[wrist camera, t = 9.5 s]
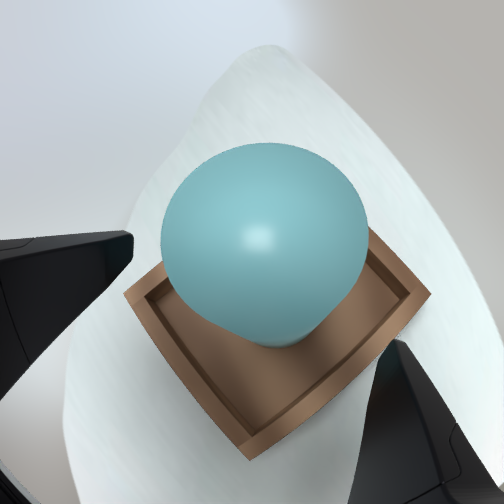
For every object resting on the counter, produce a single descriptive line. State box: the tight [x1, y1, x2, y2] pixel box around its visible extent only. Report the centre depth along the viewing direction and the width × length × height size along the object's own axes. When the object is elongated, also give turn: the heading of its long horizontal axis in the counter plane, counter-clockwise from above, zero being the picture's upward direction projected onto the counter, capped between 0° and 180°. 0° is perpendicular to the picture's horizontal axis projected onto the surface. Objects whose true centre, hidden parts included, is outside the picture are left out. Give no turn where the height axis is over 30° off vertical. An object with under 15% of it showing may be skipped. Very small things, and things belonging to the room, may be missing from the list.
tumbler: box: [161, 143, 369, 348], centre depth 14 cm, size 6×6×12 cm
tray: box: [123, 226, 431, 461], centre depth 19 cm, size 16×14×3 cm
